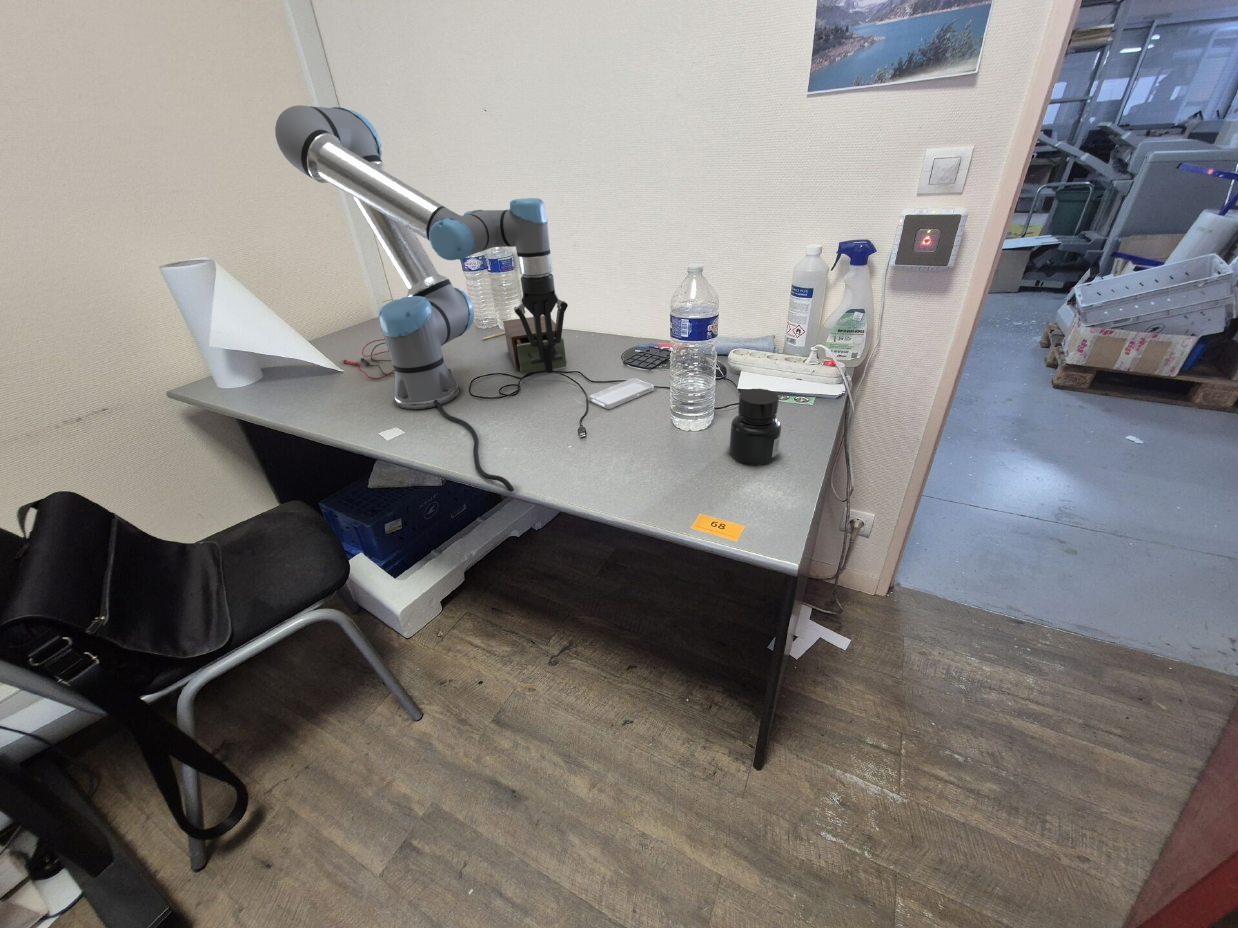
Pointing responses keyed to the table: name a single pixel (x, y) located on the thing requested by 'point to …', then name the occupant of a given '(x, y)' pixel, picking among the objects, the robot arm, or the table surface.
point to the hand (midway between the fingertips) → (549, 371)
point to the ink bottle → (756, 427)
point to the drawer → (530, 355)
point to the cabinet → (521, 334)
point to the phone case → (621, 393)
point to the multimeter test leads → (371, 359)
